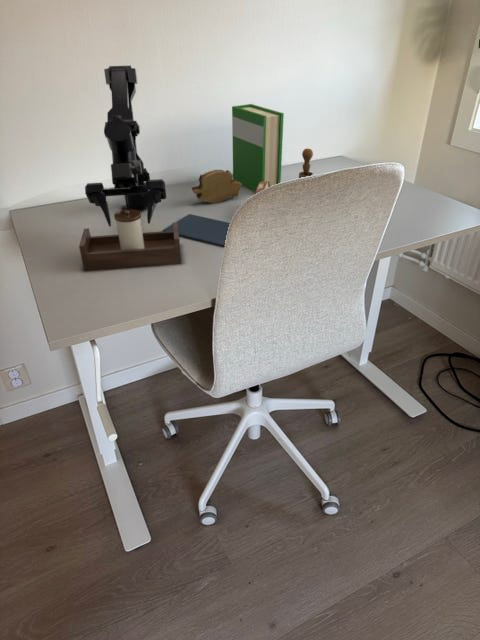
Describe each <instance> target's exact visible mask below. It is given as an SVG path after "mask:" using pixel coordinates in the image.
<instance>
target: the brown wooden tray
mask: <svg viewBox="0 0 480 640" xmlns="http://www.w3.org/2000/svg"><path fill="white" fill-rule="evenodd" d="M172 224H173V231H163V230H162V231H148V232H143V239H144V246H145V248H143V249H129V250H121V248H120V242H119V237H118V234H107V235H91V232H90V228H88V227H87V228H83V231H82V235H81V238H80V241H79V244H78V248H79V253H80V257H81V262H82V267H83V271H84V272H89V271H101V270H114V269H127V268H128V269H129V268H141V267H152V266H154V267H155V266H165V265H178V264H182V255H181V243H180V236H179V233H178V224H177V221H175V222H172Z"/></svg>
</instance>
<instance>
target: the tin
mask: <svg viewBox="0 0 480 640" xmlns="http://www.w3.org/2000/svg"><path fill="white" fill-rule="evenodd" d="M268 187H270V184H269V181H266V182H260V183H259V185H258V187H257V189H256V191H254V195H255V194H256V193H258V192H260V191H262V190H264V189H266V188H268Z"/></svg>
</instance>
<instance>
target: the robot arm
mask: <svg viewBox="0 0 480 640" xmlns="http://www.w3.org/2000/svg"><path fill="white" fill-rule="evenodd" d="M103 72H104V79H105V85H107V86H109V90H110V92H111V108H110V109H109V110H108V112H107V114H106V115H107V120H106V121H105V122H104V127H103V128H104V129H103V134H104V137H105V139H106V141H107V144H108V146H109V149H110V152H111V160H112V163H111V164H110V172H111V182H112V183H111V184H112V185H113V186H114V187H104V185H103V182H89V183H86V185H85V186H84V192H85V193H84V194H85V196H86V198H87V200H88V202H89V203H90V204H92V205H93V204H94V206H95V207H99V208H100V209H101V211H102V212H103V214H104V217H105V219H106V222H107V224H108V227H112V220H111V215H110V209H109V205H108V201H107V197H116V196H119V197H120V196H124V200H125V201H124V202H125V205H123V206H122V210H126V209H135V210H138V211H140V212H142V211H144V210H147V211H146V218H147V224H148V225H150V224H151V221H152V218H153V214H154V211H155V209H156V207H157V205H158V203H159V204H160V203H162V200H165V199H167V191H166V182H165V181H164V179H163V178H159V179H151V176H150V173H149V172H148V170H147V168H146V167H145V164H144V162H143V160H142V159H141V157H140V156H139V154H138V148H137V137H138V136H139V135H140V133H141V127H140V125H139V123H138V122H137V120H135V118H134V109H133V100H134V97H135V95H136V93H137V88H136V85H138V75H137V69H136V68H135V67H132V65H109V66H108V68H104V70H103Z"/></svg>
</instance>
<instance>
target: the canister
mask: <svg viewBox="0 0 480 640" xmlns="http://www.w3.org/2000/svg"><path fill="white" fill-rule="evenodd" d="M141 212H142V211H138V210H135V209H120V210H118V211H116V212H114V215H113V218H114V220H115V224H116V231H117V235H118V237H119V242H120V248H121V250H129V249H143V248H145V246H144V239H143V233H144V232H143V226H142V213H141Z"/></svg>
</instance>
